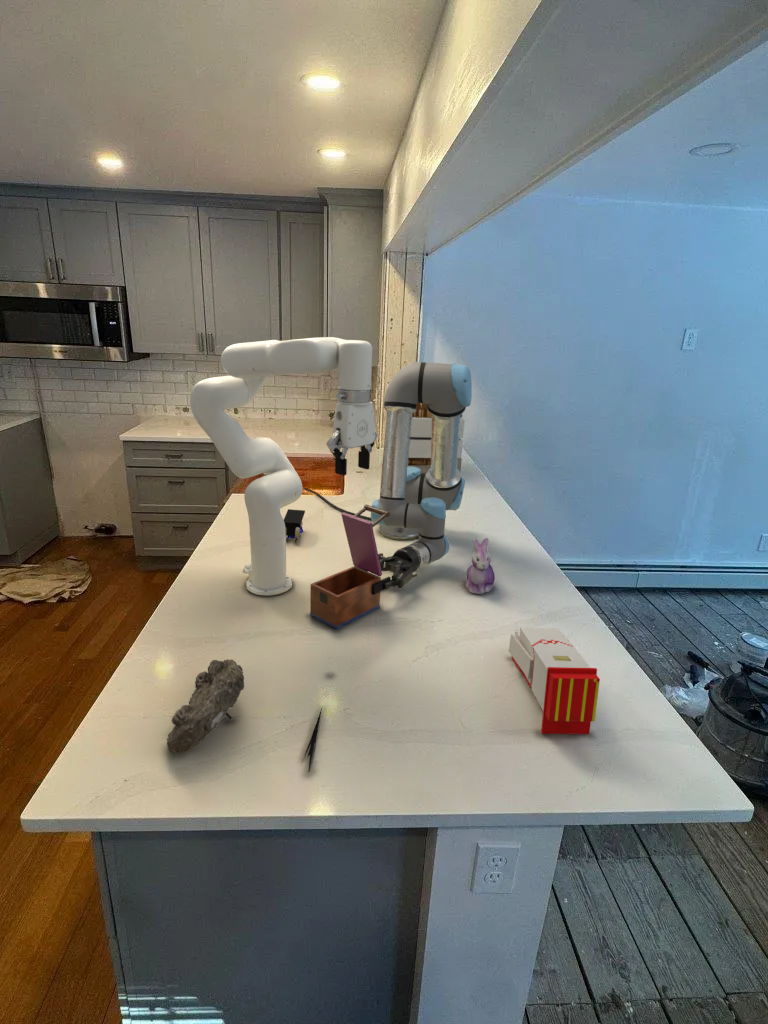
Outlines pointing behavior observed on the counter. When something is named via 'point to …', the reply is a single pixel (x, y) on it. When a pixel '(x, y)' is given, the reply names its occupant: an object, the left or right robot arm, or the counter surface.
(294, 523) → the figurine character
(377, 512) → the lid
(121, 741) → the counter surface
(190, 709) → the fossil
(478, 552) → the figurine
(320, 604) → the chest
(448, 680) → the counter surface
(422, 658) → the counter surface
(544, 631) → the toy
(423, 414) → the transformer
